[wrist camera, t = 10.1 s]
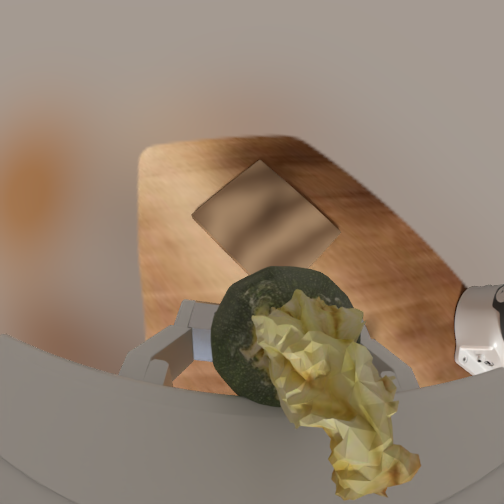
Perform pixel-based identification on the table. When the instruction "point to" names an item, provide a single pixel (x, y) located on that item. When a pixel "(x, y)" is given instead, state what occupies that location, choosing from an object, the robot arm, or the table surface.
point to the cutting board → (265, 222)
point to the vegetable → (313, 371)
